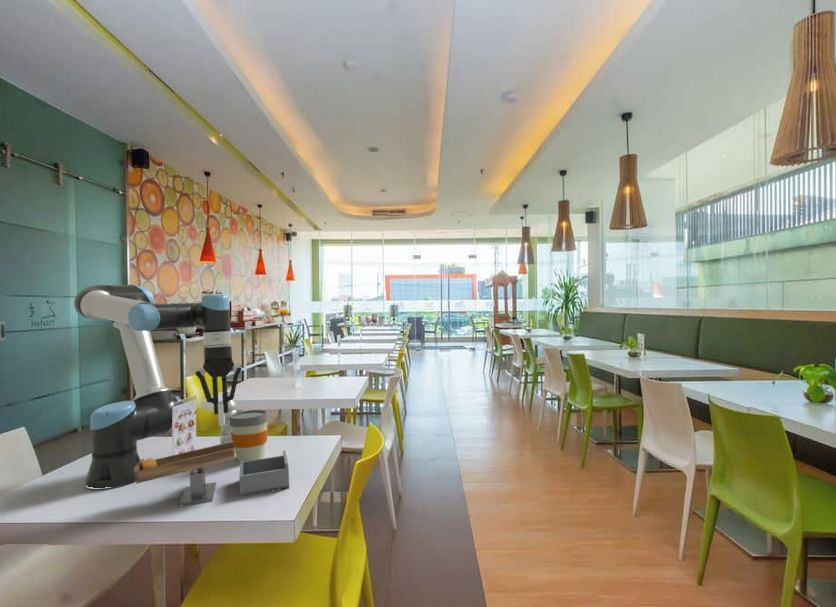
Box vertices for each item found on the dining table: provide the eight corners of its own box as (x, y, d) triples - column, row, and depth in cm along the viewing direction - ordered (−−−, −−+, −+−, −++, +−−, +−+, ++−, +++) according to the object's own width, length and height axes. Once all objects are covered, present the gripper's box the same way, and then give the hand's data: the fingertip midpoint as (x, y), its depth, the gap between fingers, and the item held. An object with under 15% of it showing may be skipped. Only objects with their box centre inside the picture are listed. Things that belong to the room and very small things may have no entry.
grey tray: (241, 480, 136) (240, 456, 136) (286, 472, 141) (285, 450, 141) (240, 496, 124) (239, 471, 124) (289, 488, 129) (288, 463, 129)
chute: (150, 468, 133) (147, 450, 133) (237, 447, 141) (234, 430, 141) (136, 489, 117) (133, 469, 117) (235, 464, 126) (232, 445, 125)
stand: (185, 489, 131) (184, 465, 131) (215, 484, 134) (214, 460, 134) (179, 506, 120) (178, 479, 120) (212, 500, 122) (211, 474, 122)
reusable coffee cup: (277, 452, 161) (275, 410, 161) (254, 464, 149) (252, 419, 149) (247, 450, 165) (245, 409, 165) (223, 462, 153) (221, 418, 153)
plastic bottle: (240, 446, 170) (238, 393, 170) (221, 450, 167) (219, 395, 167) (237, 442, 176) (235, 390, 176) (218, 445, 172) (216, 393, 172)
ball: (140, 474, 122) (137, 461, 122) (154, 468, 125) (151, 455, 125) (146, 475, 120) (143, 462, 120) (160, 469, 123) (157, 456, 123)
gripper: (192, 348, 130) (196, 430, 130) (240, 344, 135) (244, 424, 135) (195, 346, 137) (199, 424, 137) (241, 343, 142) (245, 418, 142)
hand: (221, 424), depth 136 cm, fingers closed
